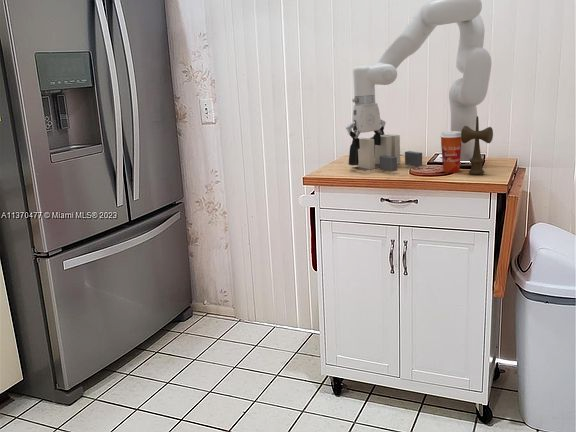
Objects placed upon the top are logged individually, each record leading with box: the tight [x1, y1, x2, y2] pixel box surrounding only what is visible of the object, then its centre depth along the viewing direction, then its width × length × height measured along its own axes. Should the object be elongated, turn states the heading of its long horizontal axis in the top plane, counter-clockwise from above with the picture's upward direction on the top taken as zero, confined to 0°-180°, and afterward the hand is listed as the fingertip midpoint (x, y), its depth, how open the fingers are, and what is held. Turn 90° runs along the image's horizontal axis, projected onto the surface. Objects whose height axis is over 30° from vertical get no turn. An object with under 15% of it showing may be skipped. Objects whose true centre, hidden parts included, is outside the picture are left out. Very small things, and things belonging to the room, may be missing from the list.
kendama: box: [461, 115, 494, 176], centre depth 204 cm, size 6×10×20 cm, turn 52°
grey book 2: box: [404, 150, 423, 168], centre depth 224 cm, size 7×2×6 cm, turn 29°
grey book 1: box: [379, 155, 398, 172], centre depth 218 cm, size 7×2×6 cm, turn 29°
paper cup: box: [439, 130, 461, 174], centre depth 212 cm, size 8×8×14 cm
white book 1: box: [358, 137, 376, 170], centre depth 224 cm, size 7×2×11 cm, turn 29°
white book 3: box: [383, 133, 401, 165], centre depth 229 cm, size 7×2×11 cm, turn 29°
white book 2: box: [375, 135, 392, 165], centre depth 227 cm, size 7×2×11 cm, turn 29°
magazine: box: [348, 130, 385, 166], centre depth 243 cm, size 17×3×30 cm
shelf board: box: [351, 163, 401, 172], centre depth 228 cm, size 9×17×1 cm, turn 119°
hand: (367, 146), depth 223 cm, fingers open, 9 cm apart
